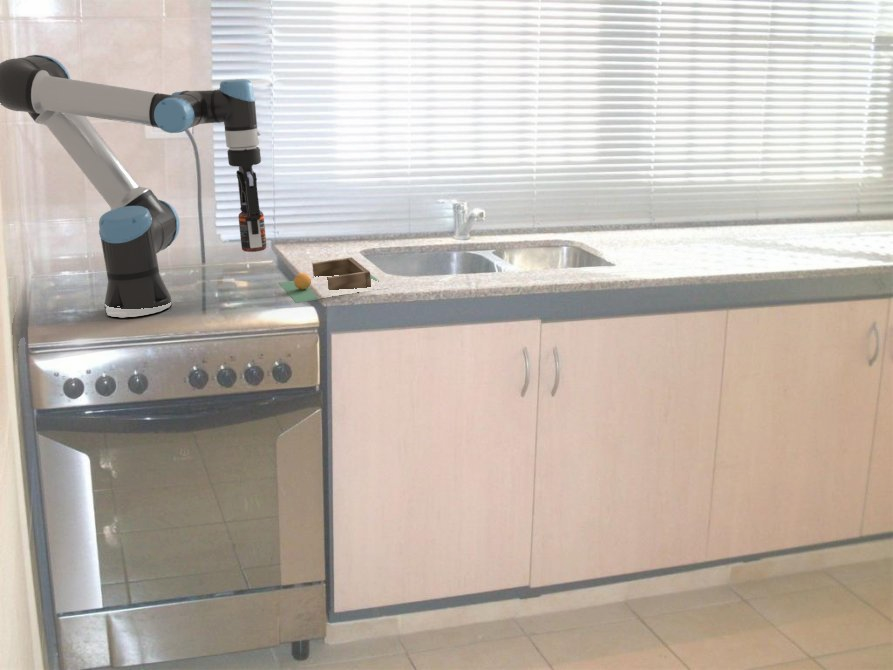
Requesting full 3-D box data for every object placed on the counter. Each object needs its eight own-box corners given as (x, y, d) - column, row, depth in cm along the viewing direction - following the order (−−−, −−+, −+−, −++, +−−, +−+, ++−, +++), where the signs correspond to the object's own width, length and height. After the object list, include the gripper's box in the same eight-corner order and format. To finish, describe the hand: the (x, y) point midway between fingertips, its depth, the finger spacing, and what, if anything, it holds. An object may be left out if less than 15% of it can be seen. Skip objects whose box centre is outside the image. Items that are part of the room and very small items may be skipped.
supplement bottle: (261, 252, 264) (256, 205, 261) (238, 252, 265) (232, 205, 262) (270, 246, 270) (265, 200, 266) (247, 246, 271) (242, 200, 268)
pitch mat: (296, 304, 256) (296, 302, 255) (279, 284, 275) (279, 282, 275) (388, 289, 262) (388, 287, 262) (365, 271, 281) (365, 269, 281)
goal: (330, 294, 260) (328, 278, 259) (313, 278, 276) (312, 263, 275) (371, 288, 263) (369, 272, 262) (353, 272, 279) (351, 257, 278)
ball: (296, 292, 264) (295, 276, 263) (293, 288, 268) (291, 272, 267) (313, 290, 265) (311, 273, 264) (309, 286, 269) (308, 270, 268)
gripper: (266, 150, 253) (276, 250, 260) (252, 141, 270) (262, 235, 277) (233, 154, 251) (244, 254, 257) (221, 144, 268) (232, 238, 275)
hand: (253, 244), depth 267 cm, fingers closed on supplement bottle, 6 cm apart
